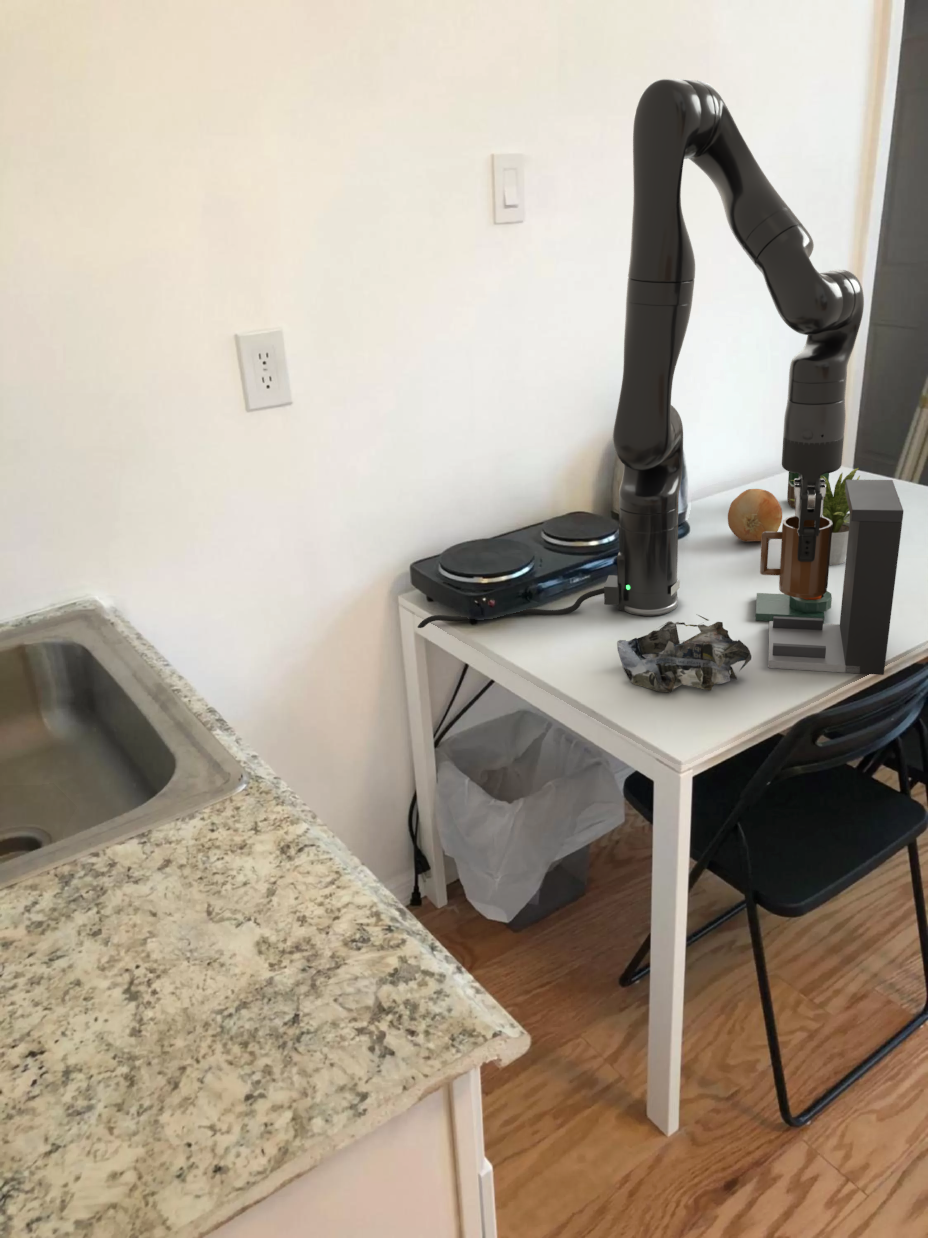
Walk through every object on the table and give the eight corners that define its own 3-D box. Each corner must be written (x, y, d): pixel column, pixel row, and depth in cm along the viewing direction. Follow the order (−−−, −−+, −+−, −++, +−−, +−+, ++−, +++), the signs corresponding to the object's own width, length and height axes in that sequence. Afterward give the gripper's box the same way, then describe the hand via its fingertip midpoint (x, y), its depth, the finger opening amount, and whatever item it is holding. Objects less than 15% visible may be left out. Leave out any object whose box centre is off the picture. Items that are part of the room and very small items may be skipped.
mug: (825, 581, 134) (831, 514, 130) (827, 599, 128) (833, 530, 124) (759, 578, 136) (762, 513, 132) (758, 596, 131) (762, 529, 127)
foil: (664, 624, 139) (732, 598, 126) (689, 692, 138) (760, 673, 125) (603, 644, 134) (668, 619, 121) (629, 715, 133) (697, 698, 120)
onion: (728, 550, 172) (730, 498, 168) (724, 532, 181) (726, 482, 177) (783, 550, 170) (787, 497, 166) (777, 531, 179) (780, 481, 175)
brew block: (755, 620, 145) (756, 602, 144) (756, 599, 152) (757, 582, 151) (831, 624, 142) (832, 606, 141) (828, 602, 149) (830, 585, 148)
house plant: (806, 537, 175) (813, 452, 168) (883, 550, 166) (893, 461, 159) (774, 562, 165) (779, 473, 158) (853, 577, 157) (862, 483, 150)
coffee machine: (768, 668, 131) (778, 508, 122) (768, 628, 143) (777, 479, 133) (883, 675, 127) (903, 510, 117) (875, 633, 138) (892, 479, 128)
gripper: (847, 447, 115) (836, 572, 122) (840, 419, 128) (831, 533, 135) (783, 447, 117) (776, 570, 124) (782, 420, 130) (776, 533, 137)
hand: (804, 551), depth 130 cm, fingers closed on mug, 6 cm apart
